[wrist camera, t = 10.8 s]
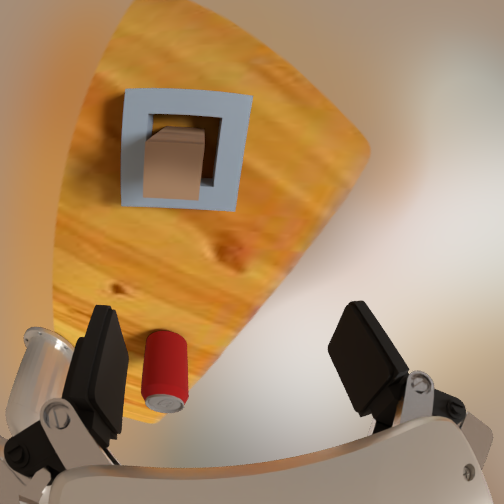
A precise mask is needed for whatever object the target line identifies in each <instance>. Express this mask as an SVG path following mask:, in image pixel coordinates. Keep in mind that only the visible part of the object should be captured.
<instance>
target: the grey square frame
mask: <svg viewBox="0 0 504 504" xmlns="http://www.w3.org/2000/svg"><path fill="white" fill-rule="evenodd" d="M252 99H253V96H250V95H243V94H235V93H227V92H217V91H206V90H192V89H169V88H138V89H125V98H124V109H123V122H122V140H121V206H135V207H163V208H184V209H202V210H219V211H234V212H235V209H236V202H237V195H238V188H239V181H240V175H241V168H242V161H243V155H244V149H245V142H246V136H247V130H248V123H249V117H250V111H251V105H252ZM153 114H180V115H197V116H210V117H220V124H219V131H218V138H217V146H216V154H215V162H214V170H213V179H211V178H201V182H200V191H199V201H196V200H181V199H163V198H143V174H144V154H145V141H147V140H148V139H149V138H151V137H152V125H153Z"/></svg>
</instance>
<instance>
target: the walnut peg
mask: <svg viewBox="0 0 504 504" xmlns="http://www.w3.org/2000/svg"><path fill="white" fill-rule="evenodd" d="M204 148H205V134H204V129H203V128H190V127H173V126H166V127H165V128H163V129H162V130H160V131H159V132H158V133H156V134H155V135H153V136H152V137H151V138H149V139H148V140H147V141H145V154H144V174H143V198H163V199H181V200H196V201H199V191H200V182H201V173H202V164H203V156H204Z"/></svg>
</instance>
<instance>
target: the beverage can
mask: <svg viewBox="0 0 504 504" xmlns="http://www.w3.org/2000/svg"><path fill="white" fill-rule="evenodd" d="M141 394H142V396H143V398H144V400H145V404H146V406H147V407H148V408H150V409H152V410H154V411H157V412H161V413H175V412H179V411H181V410H182V409H183V408H184V405H185V403H186V401H187V399H188V397H189V395H188V359H187V343H186V341H185V339H184V338H183V337H182V336H180V335H179V334H177V333H174V332H170V331H157V332H154V333H152V334H151V335H149V336H148V338H147V340H146V347H145V354H144V363H143V373H142V385H141Z"/></svg>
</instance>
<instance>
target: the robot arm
mask: <svg viewBox="0 0 504 504" xmlns="http://www.w3.org/2000/svg"><path fill="white" fill-rule="evenodd" d="M24 343H25V346H26V347H27V349H26V352H25V354H24V357H23V359H22V362H21V364H20V367H19V370H18V373H17V376H16V378H15V381H14V384H13V387H12V390H11V394H10V397H9V400H8V404H7V407H6V421H7V425H8V428H9V430H10V432H11V435H12V437H11V438H10V439H9V440H8V439H5V438H4V437H2V436H0V504H493V500H492V497H491V494H490V491H489V488H488V485H487V483H486V480H485V478H484V475H483V473H482V468H483V466H484V463H485V461H486V458H487V455H488V452H489V450H490V447H491V443H492V441H493V433H492V431H491V429H490V428H489V427H488V426H487V425H485V424H484V423H483V422H481V421H480V420H479V419H477V418H476V417H475V416H473V415H472V414H471V413H470V412H467V413H466V409H465V406H464V404H463V402H461V400H459V399H458V398H456V397H453V396H451V395H448V394H446V393H444V392H441V391H439V390H436V389H434V383H433V381H432V379H431V378H430V377H429V375H427V374H426V373H424V372H422V371H413V372H411V373H410V374H409V373H408V371H409V368H408V366H407V365H406V363H405V362H404V360H403V358H402V357H401V355H400V354H399V352H398V351H397V349H396V348H395V346H394V345H393V343H392V341H391V340H390V338H389V337H388V335H387V334H386V333H385V331H384V330H383V328H382V326H381V325H380V323H379V322H378V321H377V319H376V318H375V316H374V315H373V313H372V312H371V310H370V309H369V308H368V306H367V305H366V303H365V302H364V301H352V302H350V303H349V304H348V305H347V306H346V307H345V309H344V312H343V314H342V316H341V318H340V321H339V323H338V325H337V328H336V330H335V332H334V334H333V337H332V339H331V341H330V343H329V345H328V353H329V355H330V357H331V359H332V362H333V364H334V366H335V368H336V370H337V372H338V374H339V377H340V379H341V381H342V383H343V385H344V387H345V390H346V392H347V394H348V396H349V398H350V401H351V403H352V405H353V408H354V410H355V411H356V412H358V413H359V415H360V417H363V416H366V415H369V414H372V416H373V420H372V423H371V426H370V430H369V433H368V436H367V437H364V438H362V439H358V440H355V441H353V442H349V443H346V444H343V445H339V446H336V447H332V448H329V449H325V450H321V451H318V452H313V453H309V454H305V455H300V456H296V457H291V458H286V459H280V460H275V461H268V462H262V463H255V464H246V465H237V466H226V467H210V468H156V467H140V466H124V465H121V464H120V463H119V461H118V460H117V459H116V458H115V456H114V455H113V454H112V453H111V451H110V450H109V449H108V446H109V440H110V439H115V440H116V439H117V434H120V433H121V430H122V416H123V404H124V394H125V385H126V377H127V369H128V361H129V357H128V352H127V349H126V345H125V342H124V339H123V335H122V332H121V328H120V325H119V321H118V317H117V314H116V311H115V310H112V309H111V306H107V305H96V306H95V308H94V311H93V313H92V316H91V319H90V322H89V325H88V328H87V331H86V334H85V337H80V338H79V339H78V340H77V343H76V346H75V348H74V347H73V346H72V345H71V344H70V343H69V342H68V341H67V340H66V339H64V338H63V337H62V336H60V335H58V334H57V333H55V332H53V331H51V330H48V329H45V328H41V327H31V328H29V329H28V330H27V331H26V332H25V335H24Z"/></svg>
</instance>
